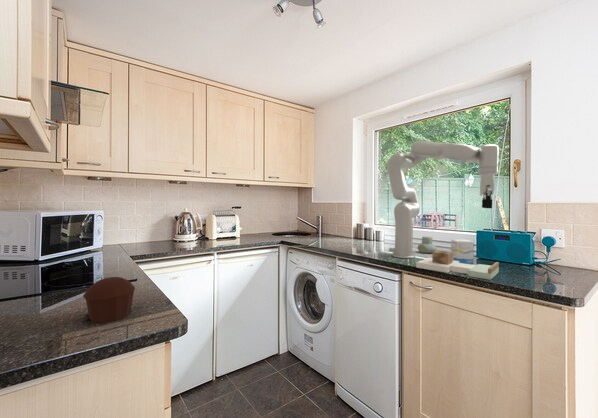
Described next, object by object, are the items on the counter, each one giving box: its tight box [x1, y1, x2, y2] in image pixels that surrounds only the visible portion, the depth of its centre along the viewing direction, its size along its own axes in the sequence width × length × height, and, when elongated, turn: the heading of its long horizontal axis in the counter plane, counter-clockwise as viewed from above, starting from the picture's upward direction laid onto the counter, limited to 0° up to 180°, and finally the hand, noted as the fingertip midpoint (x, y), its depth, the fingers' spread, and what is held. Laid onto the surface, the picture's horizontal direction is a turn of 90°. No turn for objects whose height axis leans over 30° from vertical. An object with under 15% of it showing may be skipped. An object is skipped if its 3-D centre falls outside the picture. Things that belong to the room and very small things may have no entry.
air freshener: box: [417, 236, 437, 255], centre depth 175 cm, size 11×8×10 cm
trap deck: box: [415, 257, 500, 281], centre depth 131 cm, size 30×18×4 cm, turn 46°
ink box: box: [450, 238, 475, 265], centre depth 148 cm, size 8×8×12 cm
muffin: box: [82, 276, 136, 324], centre depth 74 cm, size 12×11×10 cm
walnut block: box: [431, 249, 453, 265], centre depth 135 cm, size 7×7×5 cm
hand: (486, 208), depth 132 cm, fingers open, 9 cm apart
